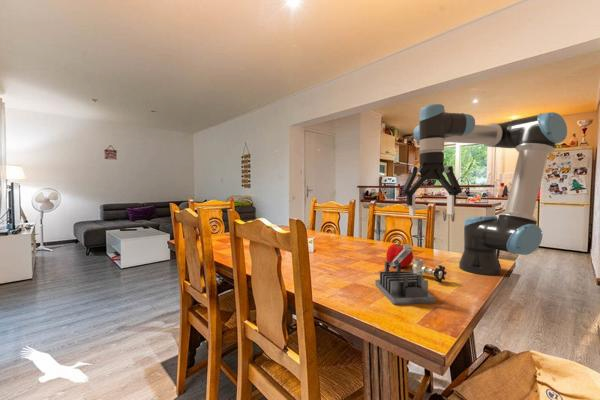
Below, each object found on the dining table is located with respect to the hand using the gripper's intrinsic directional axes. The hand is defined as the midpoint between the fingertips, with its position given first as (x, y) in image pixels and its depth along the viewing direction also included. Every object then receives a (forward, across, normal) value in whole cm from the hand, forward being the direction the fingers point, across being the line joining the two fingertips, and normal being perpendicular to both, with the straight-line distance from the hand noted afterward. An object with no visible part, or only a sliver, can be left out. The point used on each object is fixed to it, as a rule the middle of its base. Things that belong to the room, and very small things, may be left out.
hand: (431, 214), depth 96 cm
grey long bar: (+15, +11, 0) cm, 19 cm away
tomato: (+27, -1, -29) cm, 40 cm away
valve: (+27, -5, -12) cm, 30 cm away
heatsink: (+26, +11, +2) cm, 28 cm away
